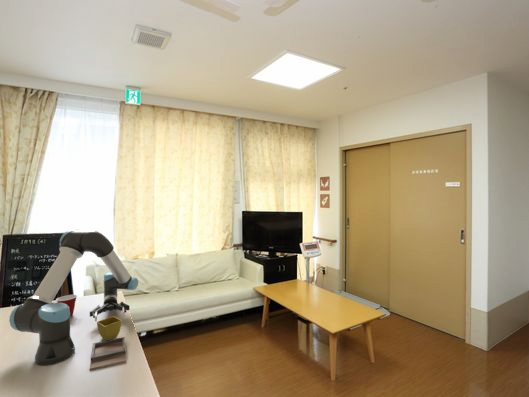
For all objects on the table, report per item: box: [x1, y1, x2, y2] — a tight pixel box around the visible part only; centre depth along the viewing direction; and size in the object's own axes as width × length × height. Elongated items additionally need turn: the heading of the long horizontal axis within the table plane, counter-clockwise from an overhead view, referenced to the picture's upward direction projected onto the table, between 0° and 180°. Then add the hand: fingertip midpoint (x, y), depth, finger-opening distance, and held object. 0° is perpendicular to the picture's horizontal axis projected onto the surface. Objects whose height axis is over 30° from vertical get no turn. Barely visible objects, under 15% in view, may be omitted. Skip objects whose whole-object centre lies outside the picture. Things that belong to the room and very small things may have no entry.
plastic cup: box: [55, 294, 78, 318], centre depth 180 cm, size 11×11×12 cm
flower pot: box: [96, 315, 122, 341], centre depth 155 cm, size 9×9×9 cm
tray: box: [89, 336, 127, 372], centre depth 139 cm, size 20×14×2 cm
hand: (109, 316), depth 164 cm, fingers open, 13 cm apart
